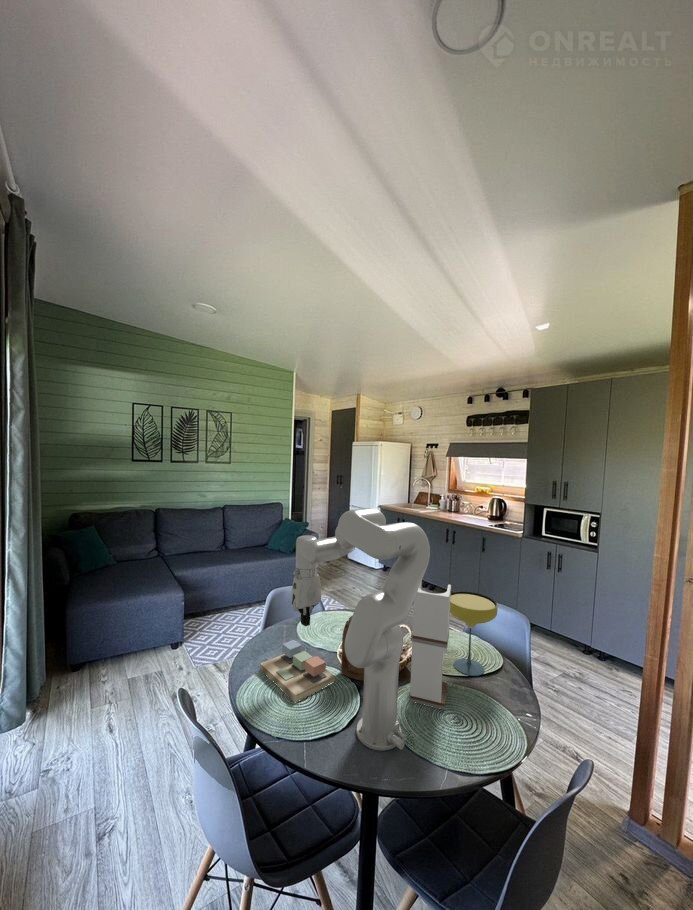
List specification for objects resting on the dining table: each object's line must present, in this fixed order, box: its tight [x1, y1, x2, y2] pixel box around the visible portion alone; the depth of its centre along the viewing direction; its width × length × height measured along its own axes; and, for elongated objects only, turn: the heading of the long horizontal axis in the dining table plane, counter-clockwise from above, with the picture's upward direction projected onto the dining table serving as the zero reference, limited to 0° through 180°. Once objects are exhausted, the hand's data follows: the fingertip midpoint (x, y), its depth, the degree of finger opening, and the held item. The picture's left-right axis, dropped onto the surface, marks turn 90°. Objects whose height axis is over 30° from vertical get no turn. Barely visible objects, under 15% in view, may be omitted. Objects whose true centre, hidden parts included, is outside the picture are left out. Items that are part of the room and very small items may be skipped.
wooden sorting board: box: [259, 650, 336, 703], centre depth 128 cm, size 22×16×3 cm
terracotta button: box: [305, 655, 327, 677], centre depth 125 cm, size 5×5×3 cm
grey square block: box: [281, 639, 303, 658], centre depth 135 cm, size 5×5×3 cm
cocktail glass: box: [450, 591, 499, 677], centre depth 138 cm, size 18×18×25 cm
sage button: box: [293, 650, 314, 670], centre depth 130 cm, size 5×5×3 cm
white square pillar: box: [409, 580, 452, 710], centre depth 121 cm, size 11×11×35 cm
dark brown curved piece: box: [340, 614, 365, 681], centre depth 131 cm, size 11×8×20 cm
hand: (305, 624), depth 129 cm, fingers closed
